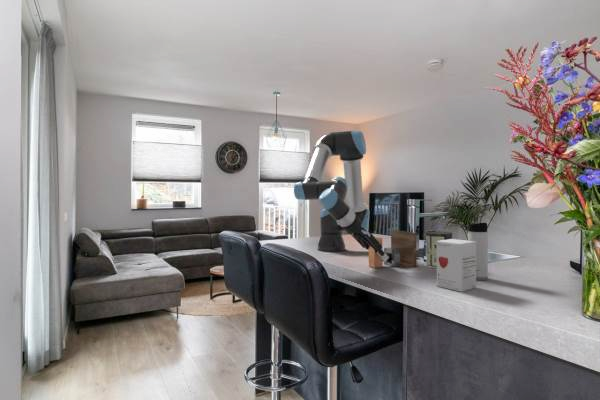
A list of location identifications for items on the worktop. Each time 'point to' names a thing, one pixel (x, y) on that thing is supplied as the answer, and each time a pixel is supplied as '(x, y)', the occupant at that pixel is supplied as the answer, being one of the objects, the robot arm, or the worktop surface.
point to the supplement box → (456, 264)
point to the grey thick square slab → (393, 257)
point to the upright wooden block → (376, 256)
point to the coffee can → (434, 246)
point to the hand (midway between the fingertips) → (383, 258)
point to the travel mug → (480, 248)
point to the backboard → (405, 247)
